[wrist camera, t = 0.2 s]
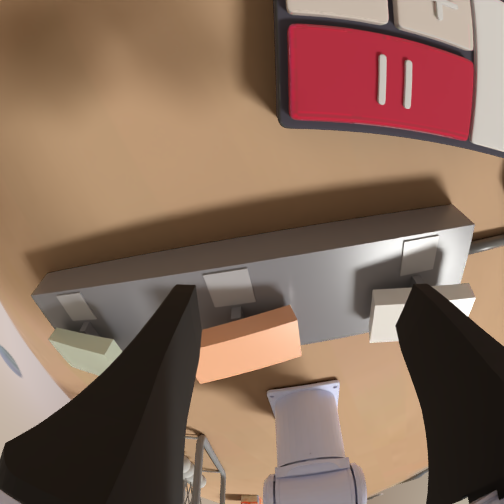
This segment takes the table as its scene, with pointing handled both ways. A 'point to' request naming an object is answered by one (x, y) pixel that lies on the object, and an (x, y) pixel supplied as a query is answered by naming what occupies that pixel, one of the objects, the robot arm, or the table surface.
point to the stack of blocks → (250, 499)
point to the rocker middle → (248, 344)
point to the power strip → (271, 275)
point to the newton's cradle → (200, 471)
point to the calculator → (393, 69)
